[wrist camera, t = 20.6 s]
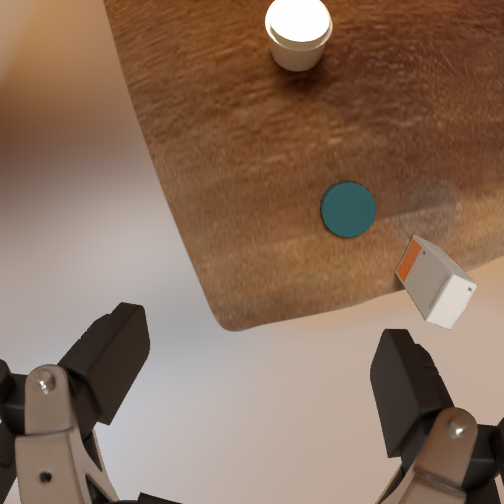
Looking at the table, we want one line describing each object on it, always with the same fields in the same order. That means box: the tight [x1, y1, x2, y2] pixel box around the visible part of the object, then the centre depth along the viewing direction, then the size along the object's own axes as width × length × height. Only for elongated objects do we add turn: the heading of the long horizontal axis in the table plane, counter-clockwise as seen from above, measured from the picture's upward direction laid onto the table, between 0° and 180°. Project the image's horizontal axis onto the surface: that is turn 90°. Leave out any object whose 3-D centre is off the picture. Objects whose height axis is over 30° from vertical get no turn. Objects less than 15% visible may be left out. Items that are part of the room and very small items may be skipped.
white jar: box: [265, 0, 332, 71], centre depth 24 cm, size 6×6×11 cm
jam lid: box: [320, 180, 376, 237], centre depth 34 cm, size 7×7×2 cm
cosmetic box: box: [395, 235, 478, 330], centre depth 31 cm, size 6×4×12 cm
